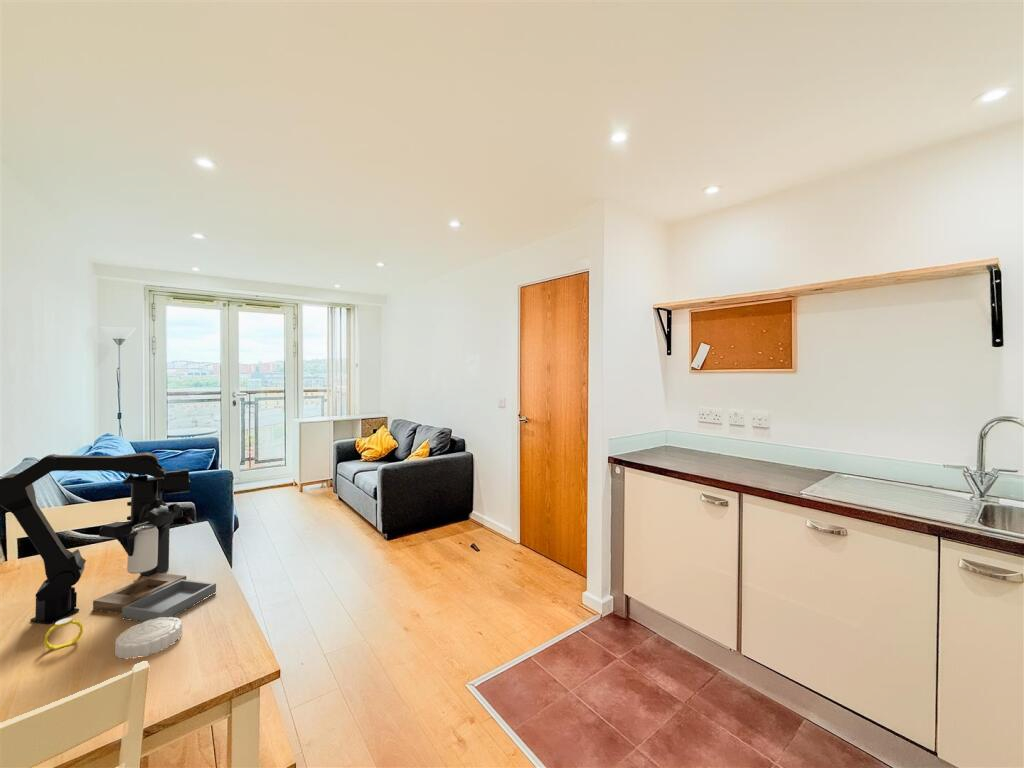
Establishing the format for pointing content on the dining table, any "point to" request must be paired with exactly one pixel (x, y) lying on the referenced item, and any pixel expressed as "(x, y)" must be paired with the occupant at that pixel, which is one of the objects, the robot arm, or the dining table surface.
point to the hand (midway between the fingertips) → (143, 551)
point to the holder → (123, 597)
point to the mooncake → (148, 637)
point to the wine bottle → (161, 546)
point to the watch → (61, 624)
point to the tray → (168, 600)
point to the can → (144, 550)
